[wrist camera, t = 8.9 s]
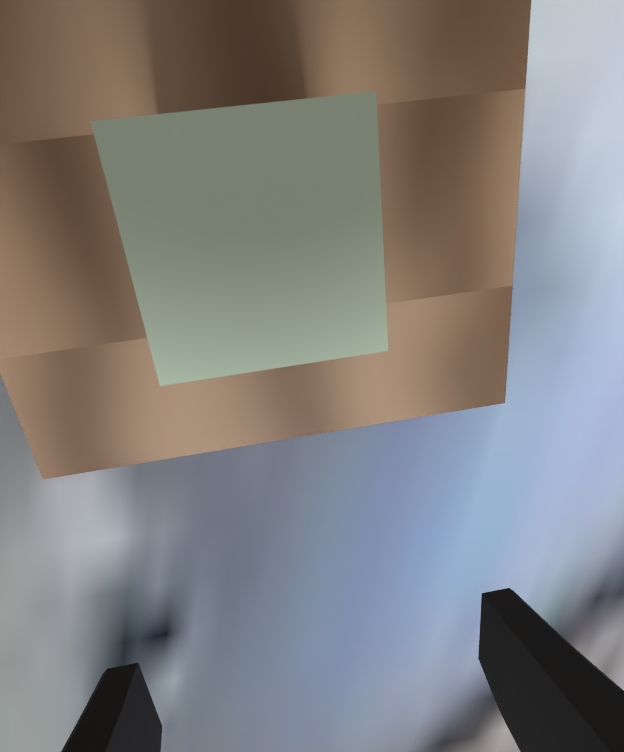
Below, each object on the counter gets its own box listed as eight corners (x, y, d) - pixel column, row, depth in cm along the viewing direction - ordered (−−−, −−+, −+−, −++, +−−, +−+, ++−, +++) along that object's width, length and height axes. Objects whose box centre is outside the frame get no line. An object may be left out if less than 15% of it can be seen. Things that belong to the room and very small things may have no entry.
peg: (200, 280, 16) (160, 386, 8) (173, 152, 15) (90, 121, 6) (314, 264, 17) (388, 351, 8) (301, 137, 15) (376, 91, 7)
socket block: (72, 433, 18) (42, 479, 16) (-89, -16, 13) (-178, -69, 10) (468, 371, 20) (504, 402, 17) (480, -59, 14) (538, -116, 11)
